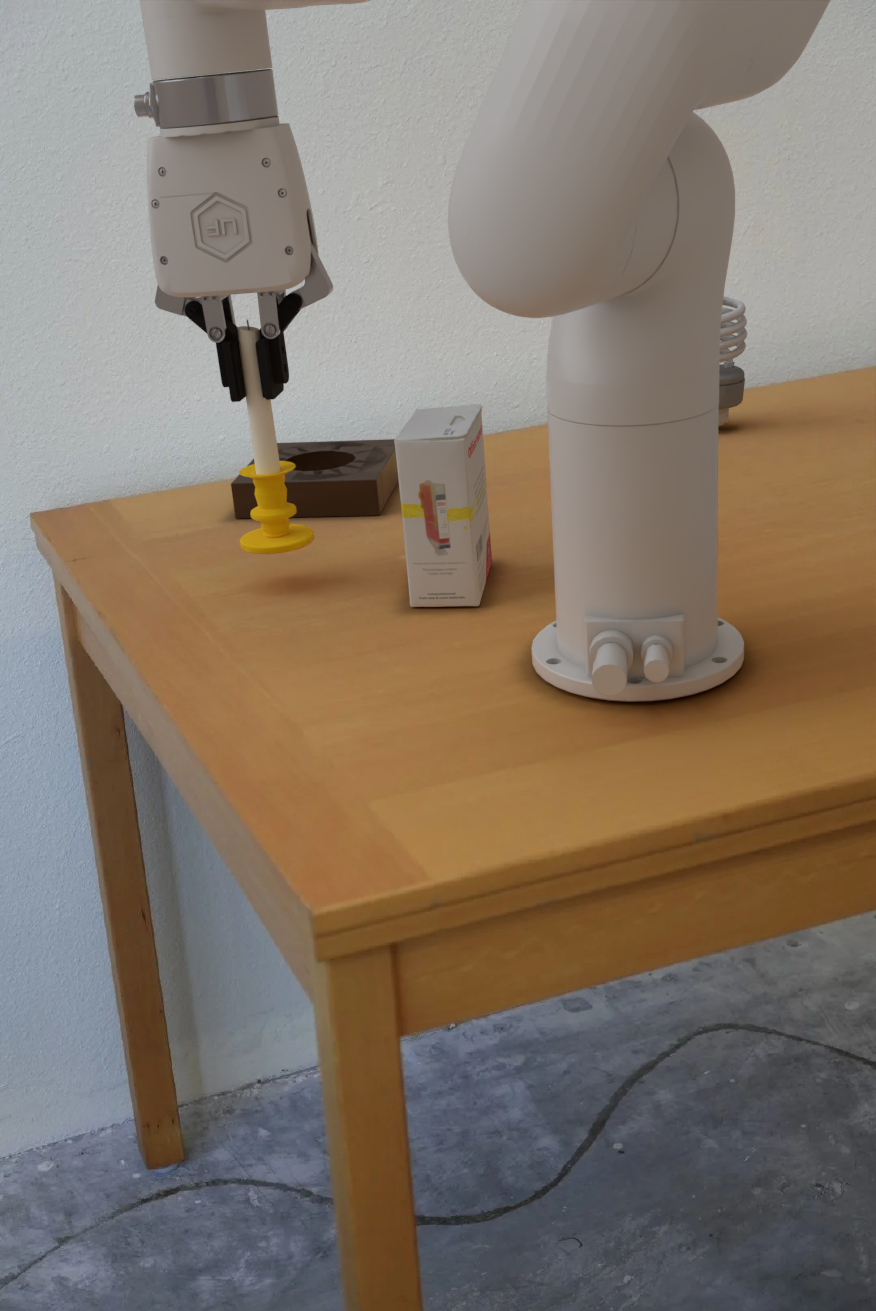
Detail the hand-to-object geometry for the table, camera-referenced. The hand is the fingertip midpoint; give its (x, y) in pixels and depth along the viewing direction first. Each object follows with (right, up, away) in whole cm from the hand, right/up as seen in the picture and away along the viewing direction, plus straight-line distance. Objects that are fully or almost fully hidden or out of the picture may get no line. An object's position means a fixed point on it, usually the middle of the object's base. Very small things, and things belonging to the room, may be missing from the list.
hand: (257, 394), depth 100 cm
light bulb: (+37, +3, +35) cm, 51 cm away
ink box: (+13, -13, +3) cm, 19 cm away
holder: (+2, -4, +25) cm, 25 cm away
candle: (+1, -10, +4) cm, 11 cm away
